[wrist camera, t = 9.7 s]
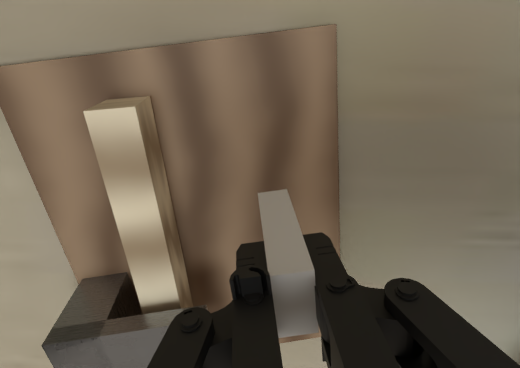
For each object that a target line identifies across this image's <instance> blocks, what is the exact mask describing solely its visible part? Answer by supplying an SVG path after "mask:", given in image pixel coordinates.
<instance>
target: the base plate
mask: <svg viewBox="0 0 520 368" xmlns="http://www.w3.org/2000/svg"><path fill="white" fill-rule="evenodd" d="M144 96H150V100H151V104H152V109H153V114H154V119H155V124H156V128H157V133H158V138H159V143H160V148H161V153H162V157H163V162H164V167H165V172H166V177H167V182H168V186H169V191H170V196H171V201H172V206H173V210H174V215H175V220H176V225H177V230H178V235H179V239H180V244H181V249H182V254H183V259H184V264H185V268H186V273H187V278H188V283H189V288H190V293H191V297H192V302H193V307H194V306H200V305H207V309H208V311H209V312H210V313H213V312H215V311H218V310H220V309H222V308H224V307H226V306H227V305H228V304H229V303H230V302H231V301H232V300H233V298H232V293H231V288H230V283H229V279H230V276H231V274H232V273H233V272H234V271H235V270H236V251H237V250H238V248H239V246H240V245H241V244H244V243H252V242H259V241H264V238H263V230H262V222H261V215H260V207H259V200H258V193H262V192H269V191H276V190H284V189H287V191H288V194H289V197H290V200H291V203H292V206H293V209H294V211H295V214H296V217H297V220H298V223H299V226H300V229H301V232H302V235H305V234H312V233H319V232H323V233H324V234H325V235H327V236H328V237H329V238H330V239H331V241H332V243H333V246H334V247H335V250H336V252H337V254H338V256H339V258H340V227H339V162H338V97H337V32H336V24H333V25H325V26H317V27H309V28H301V29H293V30H285V31H277V32H269V33H261V34H253V35H245V36H237V37H229V38H221V39H213V40H205V41H197V42H189V43H182V44H174V45H166V46H158V47H150V48H142V49H134V50H126V51H118V52H110V53H102V54H94V55H86V56H78V57H70V58H62V59H54V60H46V61H38V62H30V63H22V64H14V65H6V66H0V107H1V109H2V112H3V114H4V116H5V118H6V121H7V123H8V125H9V127H10V130H11V132H12V134H13V136H14V139H15V141H16V143H17V146H18V148H19V150H20V152H21V155H22V157H23V159H24V161H25V164H26V166H27V168H28V170H29V173H30V175H31V177H32V179H33V182H34V184H35V186H36V189H37V191H38V193H39V195H40V198H41V200H42V202H43V204H44V207H45V209H46V211H47V213H48V216H49V218H50V220H51V222H52V225H53V227H54V229H55V232H56V234H57V236H58V238H59V241H60V243H61V245H62V247H63V250H64V252H65V254H66V256H67V259H68V261H69V263H70V265H71V268H72V270H73V272H74V275H75V277H76V279H77V281H78V284H79V283H80V282H81V280H82V279H84V278H91V277H97V276H104V275H111V274H118V273H124V272H127V273H128V276H129V279H130V281H131V284H132V287H133V290H134V293H135V295H136V298H137V301H138V304H139V307H140V310H141V312H142V309H141V306H140V302H139V299H138V295H137V292H136V289H135V285H134V282H133V279H132V275H131V272H130V268H129V265H128V262H127V258H126V255H125V251H124V248H123V245H122V241H121V238H120V234H119V231H118V228H117V224H116V221H115V218H114V214H113V211H112V207H111V204H110V201H109V197H108V194H107V190H106V187H105V184H104V180H103V177H102V173H101V170H100V167H99V163H98V160H97V157H96V153H95V150H94V146H93V143H92V140H91V136H90V133H89V129H88V126H87V123H86V119H85V116H84V113H83V111H85V110H87V109H89V108H91V107H93V106H95V105H97V104H99V103H101V102H103V101H105V100H110V99H121V98H133V97H144ZM142 314H143V312H142ZM318 329H319V325H318ZM316 337H321V332H320V329H319V333H312V334H304V335H297V336H290V337H283V338H279V343H285V342H291V341H297V340H303V339H310V338H316Z"/></svg>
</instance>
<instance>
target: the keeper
mask: <svg viewBox="0 0 520 368" xmlns="http://www.w3.org/2000/svg"><path fill="white" fill-rule="evenodd" d="M194 307H200V308H205V309H206V310H208V309H207V305H200V306H194ZM194 307H187V308H181V309H175V310H168V311H162V312H155V313H149V314H142V312H141V310H140V307H139V304H138V301H137V298H136V295H135V293H134V290H133V287H132V284H131V281H130V279H129V276H128V273H127V272H124V273H118V274H111V275H104V276H97V277H91V278H84V279H82V280H81V282H80V283H79V285H78V287H77V288H76V290H75V292H74V293H73V295H72V297H71V298H70V300H69V301H68V303H67V305H66V306H65V308H64V310H63V311H62V313H61V315H60V316H59V318H58V320H57V321H56V323H55V324H54V326H53V328H52V329H51V331H50V333H49V334H48V336H47V338H46V339H45V341H44V342H43V344H42V347H43V349H44V351H45V353H46V355H47V356H48V358H49V360H50V362H51V363H52V365H53V367H54V368H147V366H148V365H149V363H150V361H151V359H152V357H153V355H154V353H155V352H156V350H157V348H158V346H159V344H160V342H161V340H162V338H163V337H164V335H165V333H166V331H167V329H168V327H169V325H170V323H171V322H172V320H173V319H174V318H175V316H176V315H178V314H179V313H181V312H182V311H184V310H186V309H189V308H194Z"/></svg>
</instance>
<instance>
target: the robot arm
mask: <svg viewBox="0 0 520 368" xmlns="http://www.w3.org/2000/svg"><path fill="white" fill-rule="evenodd" d="M258 200H259V207H260V215H261V222H262V230H263V238H264V241H259V242H252V243H244V244H241V245H240V246H239V248H238V250H237V251H236V270H235V271H234V272H233V273H232V274H231V276H230V279H229V283H230V288H231V293H232V298H233V300H232V301H231V302H230V303H229V304H228V305H227V306H226V307H224V308H222V309H220V310H218V311H215V312H213V313H210V312H209V311H208V310H206V309H205V308H200V307H194V308H189V309H186V310H184V311H182V312H181V313H179V314H178V315H176V316H175V318H174V319H173V320H172V322H171V323H170V325H169V327H168V329H167V331H166V333H165V335H164V337H163V338H162V340H161V342H160V344H159V346H158V348H157V350H156V352H155V353H154V355H153V357H152V359H151V361H150V363H149V365H148V366H147V368H283V366H282V359H281V352H280V345H279V338H283V337H290V336H297V335H304V334H312V333H319V329H320V332H321V340H322V356H323V361H326V362H327V366H328V368H520V365H518V364H517V363H516V362H515V361H514V360H512V359H511V358H510V357H509V356H508V355H506V354H505V353H504V352H503V351H502V350H500V349H499V348H498V347H497V346H496V345H494V344H493V343H492V342H491V341H490V340H489V339H487V338H486V337H485V336H484V335H483V334H481V333H480V332H479V331H478V330H477V329H475V328H474V327H473V326H472V325H471V324H469V323H468V322H467V321H466V320H465V319H463V318H462V317H461V316H460V315H459V314H457V313H456V312H455V311H454V310H453V309H451V308H450V307H449V306H448V305H447V304H445V303H444V302H443V301H442V300H441V299H439V298H438V297H437V296H436V295H435V294H434V293H432V292H431V291H430V290H429V289H428V288H426V287H425V286H424V285H422V284H421V283H419V282H417V281H414V280H411V279H406V278H397V279H392V280H391V281H389V282H387V284H386V285H385V287H384V289H376V288H369V287H364V286H361V285H359V284H358V283H357V282H356V280H355V279H354V278H352V277H351V276H349V275H348V274H347V272H346V270H345V268H344V266H343V264H342V262H341V260H340V258H339V256H338V254H337V252H336V250H335V247H334V246H333V243H332V241H331V239H330V238H329V237H328V236H327V235H325V234H324V233H323V232H319V233H312V234H305V235H302V232H301V229H300V226H299V223H298V220H297V217H296V214H295V211H294V209H293V206H292V203H291V200H290V197H289V194H288V191H287V189H284V190H276V191H269V192H262V193H258ZM318 325H319V329H318Z"/></svg>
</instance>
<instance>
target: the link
mask: <svg viewBox="0 0 520 368" xmlns="http://www.w3.org/2000/svg"><path fill="white" fill-rule="evenodd" d="M83 113H84V116H85V119H86V123H87V126H88V129H89V133H90V136H91V140H92V143H93V146H94V150H95V153H96V157H97V160H98V163H99V167H100V170H101V173H102V177H103V180H104V184H105V187H106V190H107V194H108V197H109V201H110V204H111V207H112V211H113V214H114V218H115V221H116V224H117V228H118V231H119V234H120V238H121V241H122V245H123V248H124V251H125V255H126V258H127V262H128V265H129V268H130V272H131V275H132V279H133V282H134V285H135V289H136V292H137V295H138V299H139V302H140V306H141V309H142V312H143V314H149V313H155V312H162V311H168V310H175V309H181V308H187V307H193V302H192V297H191V293H190V288H189V283H188V278H187V273H186V268H185V264H184V259H183V254H182V249H181V244H180V239H179V235H178V230H177V225H176V220H175V215H174V210H173V206H172V201H171V196H170V191H169V186H168V182H167V177H166V172H165V167H164V162H163V157H162V153H161V148H160V143H159V138H158V133H157V128H156V124H155V119H154V114H153V109H152V104H151V100H150V96H144V97H133V98H121V99H110V100H105V101H103V102H101V103H99V104H97V105H95V106H93V107H91V108H89V109H87V110H85V111H83Z"/></svg>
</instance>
